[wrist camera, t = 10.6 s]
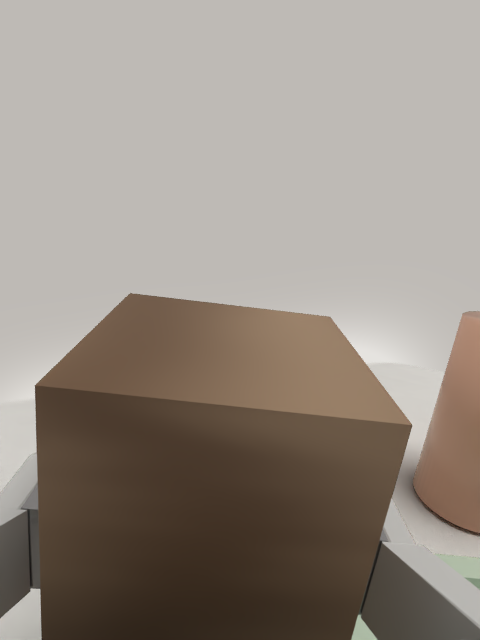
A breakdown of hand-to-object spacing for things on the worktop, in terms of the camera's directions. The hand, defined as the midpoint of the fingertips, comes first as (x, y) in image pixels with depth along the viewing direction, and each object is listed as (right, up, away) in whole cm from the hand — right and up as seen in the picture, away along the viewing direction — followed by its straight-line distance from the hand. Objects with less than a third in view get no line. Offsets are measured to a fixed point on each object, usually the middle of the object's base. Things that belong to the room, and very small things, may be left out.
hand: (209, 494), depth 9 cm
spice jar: (+13, -6, +14) cm, 20 cm away
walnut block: (-1, -6, +1) cm, 6 cm away
